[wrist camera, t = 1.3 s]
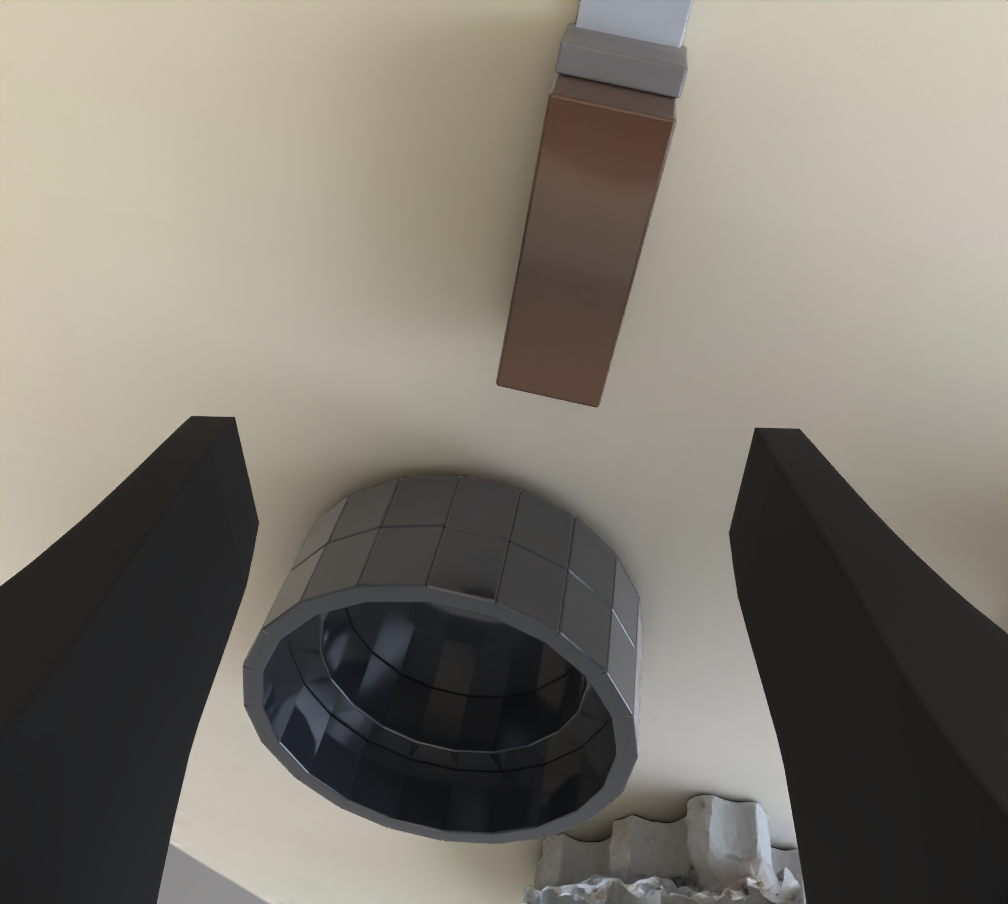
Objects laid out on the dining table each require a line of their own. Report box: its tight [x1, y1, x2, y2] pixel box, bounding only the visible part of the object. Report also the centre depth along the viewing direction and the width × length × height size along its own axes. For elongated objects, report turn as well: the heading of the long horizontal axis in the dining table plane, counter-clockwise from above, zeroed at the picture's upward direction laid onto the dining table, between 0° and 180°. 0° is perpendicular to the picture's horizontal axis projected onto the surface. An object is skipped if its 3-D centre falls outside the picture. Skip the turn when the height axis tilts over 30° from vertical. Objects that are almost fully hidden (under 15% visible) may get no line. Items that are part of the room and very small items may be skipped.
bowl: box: [243, 476, 643, 844], centre depth 27 cm, size 11×11×5 cm
